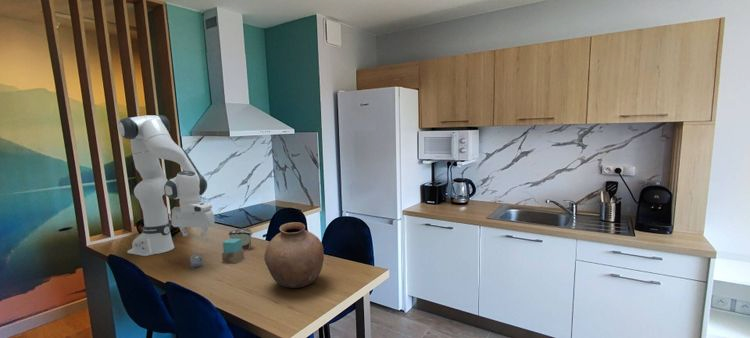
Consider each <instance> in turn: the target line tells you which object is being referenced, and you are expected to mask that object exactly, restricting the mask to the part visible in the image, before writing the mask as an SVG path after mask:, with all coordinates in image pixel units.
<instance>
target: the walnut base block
mask: <svg viewBox="0 0 750 338" xmlns="http://www.w3.org/2000/svg"><path fill="white" fill-rule="evenodd" d="M244 251H245V250H243V249H241V250H239V251H238V252H236V253H224V251H223V252H222V253H221V260H222V263H223V264H233V265H234V264H238V263H240V261H242V260H244V259H245V255H244V254H245V253H244Z"/></svg>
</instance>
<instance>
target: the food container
mask: <svg viewBox="0 0 750 338" xmlns="http://www.w3.org/2000/svg"><path fill="white" fill-rule="evenodd" d="M252 235H253V233H252V230H251V229H250V228H239V229H233V230H229V231H228V236H229V239H241V241H242V249H243V251H250V250H251V249H252V247H251V245H252V244H251V243H252V242H251V241H252Z"/></svg>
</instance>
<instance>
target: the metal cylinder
mask: <svg viewBox="0 0 750 338" xmlns="http://www.w3.org/2000/svg"><path fill="white" fill-rule="evenodd" d="M189 259H190V267H191V268H190V269H199V268H202V267H203V266H204V262H203V261H204V260H203V254H201V253H199V254H198V253H197V254H192V255H190V256H189Z"/></svg>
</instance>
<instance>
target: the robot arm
mask: <svg viewBox="0 0 750 338" xmlns="http://www.w3.org/2000/svg"><path fill="white" fill-rule="evenodd" d="M170 131H171V125H170V120H169V119H168V118H167V116H166V115H163V114H156V115H152V114H151V115H140V116H134V117H133V116H132V117H128V116H127V117H125V118H124V117H123V118H121V119H120V120H119V121H118V133H120V135H121V137H123V138H124V139H125V140H126V139H127V140H130V149H131V155H132V159H133V163H134V167H135V170H136V171H137V172H138V173H139V175H140V177H141V178H142V180H141V181H140V182H138V183H137V184H136V186H135V187H134V189H133V194H134V196H135V198H136V199H137V200H138V202H139V205H140V208H141V211H142V216H143V224H144V225H143V226H141V227H140V230H142V231H141V233H140V234H139V235H138V236H136V237H135V238H134V239H133V240H132V247H131V248H130V249H129V250H127V254H130V255H131V254H132V255H136V256H142V257H147V256H152V255H158V254H159V255H160V254H163V253H166V252H167V253H168V252H170V251H172V250H174V249H175V244H174V242H173V237H172V234H171V225H172V226H173V227H174V228H179V230H180V232H181V233H182V236H183V237H188V236H189V231H187V230H186V228H201V230H202V232H200V237H206V236H207V231H208V228H210V227H212V226H214V225H215V223H216V222H215V215H214V211H213V210H212V209H213V205H212V204H211V203H208V202H205V201H203V200H202V198H201V196H203V195H204V193H205V192H206V190H207V189H208V182H207V180H206V179H205V177H204V176H203V175H202V174H201V172H199V170H198V169H197V167H196V166H195V164H194V161H192V159H191V157H190V156H189V154H188V153H187V151H186V150H185V149H184V148H182V147H180V145H178V144H177V143H176V142H175V141H174V140H173V138H172V137H171V134H170V133H169V132H170ZM160 159H161V160H166V161H171V162H175V163H177V164H178V165H180V167H181V168H182V171H179V172H177V174H176V176H175V177H173V178H171V179H168V178H167V177H166V175H165V172H164V170H163V168H162V166H161V162H160ZM163 196H166V197H168V199H171V200H178V199H179V201H178V202H179V206H174V207H173V208H172V209H171V224H170V222H169V213H168V212H169V211H168V208H167V205H165V202H164V199H163Z"/></svg>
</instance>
